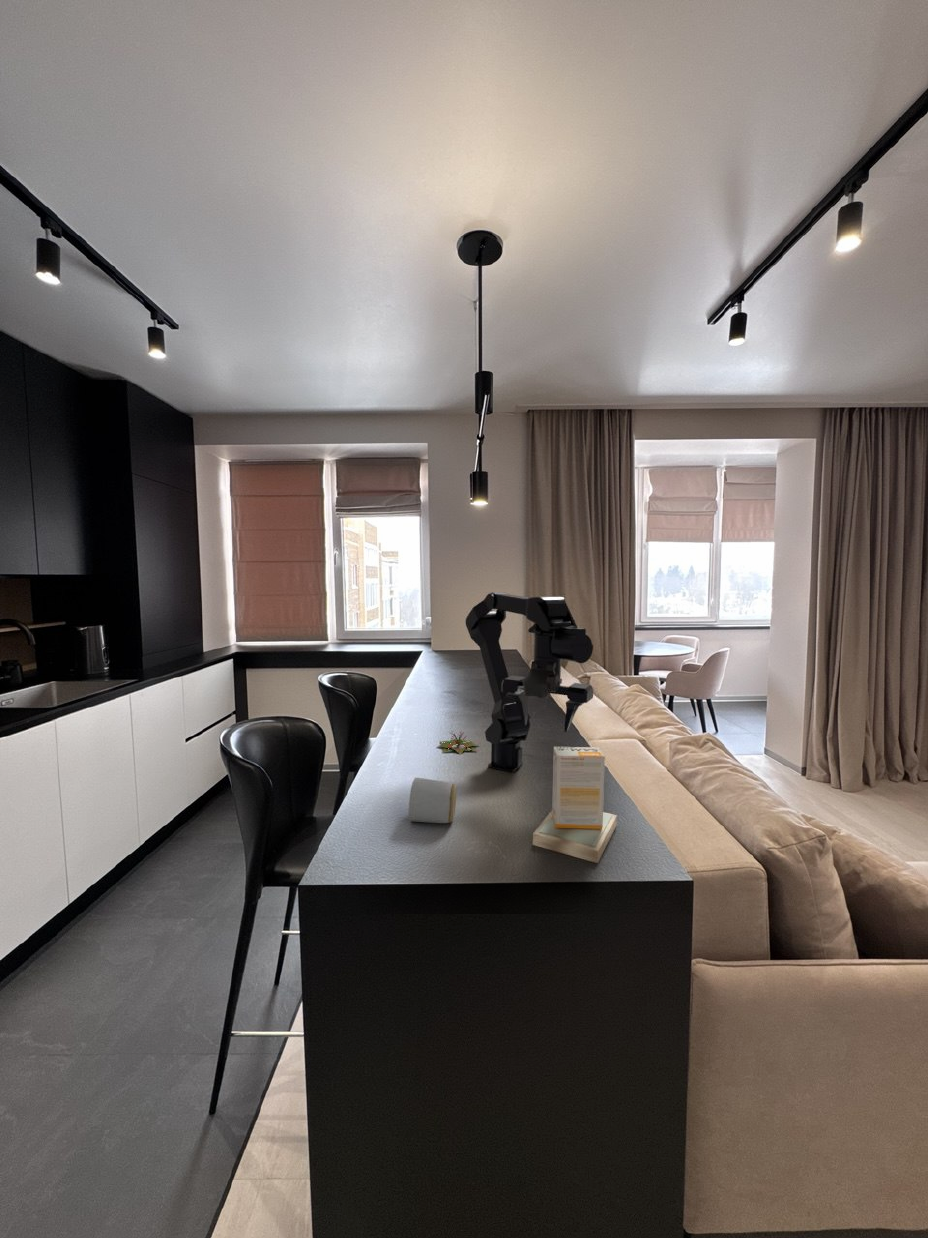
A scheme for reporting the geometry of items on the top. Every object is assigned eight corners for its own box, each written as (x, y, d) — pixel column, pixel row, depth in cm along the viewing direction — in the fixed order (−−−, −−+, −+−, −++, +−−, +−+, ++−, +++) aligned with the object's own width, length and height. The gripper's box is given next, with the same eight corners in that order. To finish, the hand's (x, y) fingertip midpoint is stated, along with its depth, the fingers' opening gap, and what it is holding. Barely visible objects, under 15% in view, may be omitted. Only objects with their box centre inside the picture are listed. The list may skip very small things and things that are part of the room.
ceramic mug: (453, 831, 91) (454, 789, 90) (407, 829, 91) (408, 787, 91) (458, 805, 101) (459, 767, 101) (417, 803, 102) (417, 765, 101)
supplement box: (596, 817, 92) (599, 746, 91) (602, 830, 88) (606, 756, 86) (550, 815, 93) (553, 745, 91) (554, 828, 88) (556, 754, 87)
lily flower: (483, 756, 130) (484, 738, 129) (436, 757, 128) (437, 739, 128) (476, 740, 142) (476, 724, 141) (433, 742, 140) (433, 725, 140)
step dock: (532, 844, 87) (533, 832, 87) (558, 811, 99) (558, 800, 99) (597, 863, 82) (598, 850, 81) (616, 825, 94) (617, 814, 94)
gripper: (491, 657, 105) (489, 731, 107) (580, 666, 96) (577, 746, 98) (512, 650, 115) (510, 718, 116) (595, 658, 106) (592, 731, 108)
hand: (545, 728), depth 109 cm, fingers open, 9 cm apart
